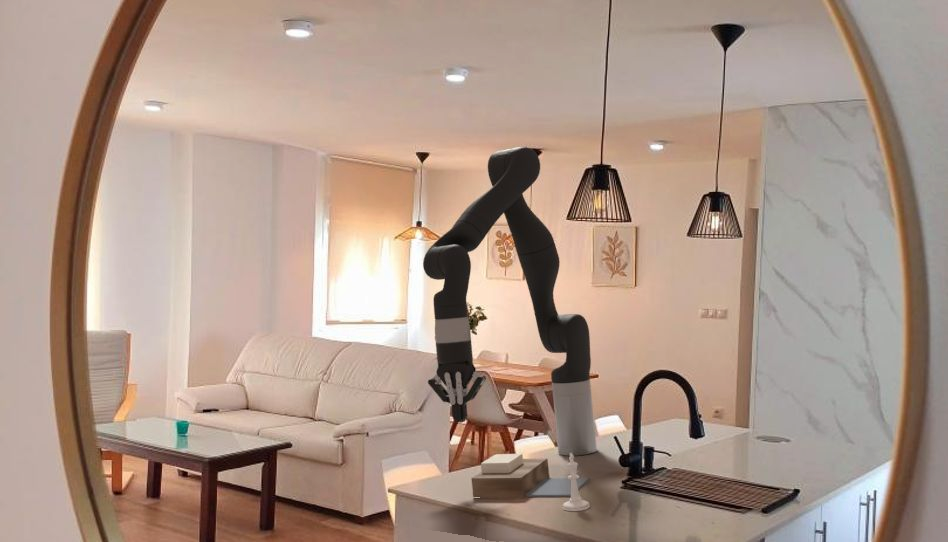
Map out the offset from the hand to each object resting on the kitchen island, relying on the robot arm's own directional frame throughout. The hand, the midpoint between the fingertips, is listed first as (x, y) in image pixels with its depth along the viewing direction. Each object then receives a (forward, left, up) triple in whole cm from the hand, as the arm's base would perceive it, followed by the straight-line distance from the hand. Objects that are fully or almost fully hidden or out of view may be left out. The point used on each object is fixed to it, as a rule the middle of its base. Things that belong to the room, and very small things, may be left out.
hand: (460, 421), depth 190 cm
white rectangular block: (0, +9, -10) cm, 13 cm away
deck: (0, +10, -14) cm, 17 cm away
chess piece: (+16, +28, -14) cm, 35 cm away
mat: (+1, +20, -14) cm, 25 cm away
